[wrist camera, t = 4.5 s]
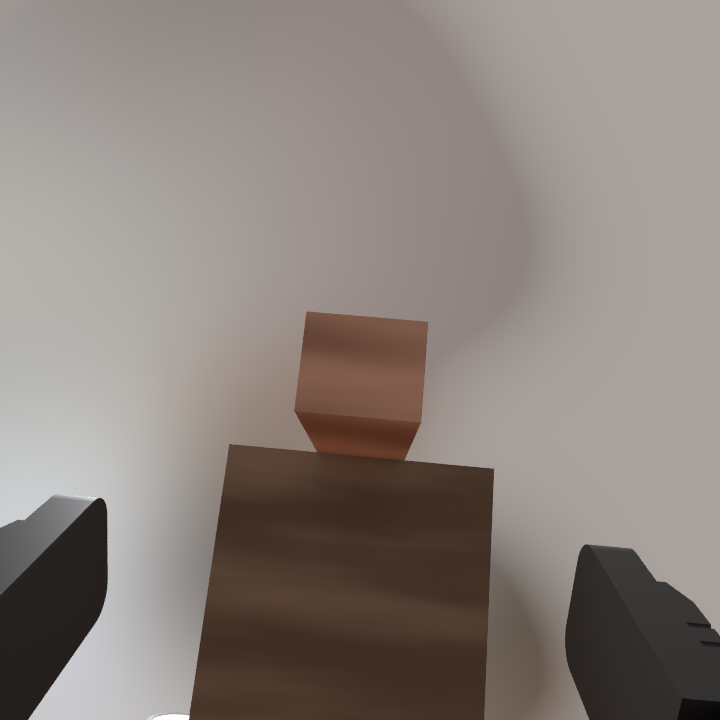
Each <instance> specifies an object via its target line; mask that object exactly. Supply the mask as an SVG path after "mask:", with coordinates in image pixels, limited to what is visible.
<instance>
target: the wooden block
mask: <svg viewBox="0 0 720 720" xmlns="http://www.w3.org/2000/svg"><path fill="white" fill-rule="evenodd" d="M427 331H428V322H422V321H411V320H399V319H388V318H376V317H363V316H352V315H341V314H328V313H317V312H306V320H305V329H304V337H303V345H302V353H301V361H300V370H299V377H298V386H297V395H296V402H295V410H294V411H295V413H296V415H297V417H298V418H299V420H300V422H301V424H302V425H303V427H304V429H305V431H306V432H307V434H308V436H309V438H310V440H311V442H312V443H313V445H314V447H315V449H316V450H317V452H318V453H329V454H340V455H350V456H361V457H372V458H383V459H393V460H405V457H406V455H407V453H408V450H409V448H410V446H411V444H412V442H413V439H414V437H415V435H416V433H417V430H418V428H419V426H420V424H421V416H422V401H423V388H424V373H425V359H426V344H427Z"/></svg>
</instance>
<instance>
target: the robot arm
mask: <svg viewBox="0 0 720 720" xmlns="http://www.w3.org/2000/svg"><path fill="white" fill-rule="evenodd" d="M107 571H108V565H107V508H106V504H105V501H104V500H103V499H102V498H96V497H85V496H75V495H64V494H56V495H54V496H52V497H51V498H50V499H49V500H48V501H46V502H45V503H44V504H43V505H42V506H41V507H39V508H38V509H37V510H36V511H35V512H34V513H32V514H31V515H30V516H29V517H28V518H27V519H26V520H17V521H14V522H13V523H10V524H8V525H6V526H4V527H1V528H0V720H28V719H29V717H30V716H31V715H32V713H33V711H34V710H35V709H36V707H37V706H38V704H39V703H40V702H41V700H42V699H43V697H44V696H45V694H46V693H47V692H48V690H49V689H50V687H51V686H52V684H53V683H54V681H55V680H56V679H57V677H58V676H59V674H60V673H61V672H62V670H63V669H64V667H65V666H66V664H67V663H68V661H69V660H70V658H71V657H72V656H73V654H74V653H75V651H76V650H77V648H78V647H79V646H80V644H81V643H82V641H83V640H84V638H85V637H86V636H87V634H88V633H89V631H90V630H91V629H92V627H93V626H94V624H95V623H96V621H97V620H98V617H99V616H100V613H101V611H102V608H103V605H104V601H105V597H106V592H107V582H108V581H107V580H108V577H107V575H108V574H107V573H108V572H107ZM565 648H566V657H567V662H568V666H569V669H570V672H571V674H572V677H573V680H574V682H575V685H576V687H577V690H578V692H579V695H580V697H581V700H582V702H583V705H584V707H585V710H586V712H587V715H588V717H589V719H590V720H720V636H719V634H718V633H717V632H716V631H715V629H711V624H710V623H709V622H708V620H707V619H706V618H705V617H704V615H703V614H702V613H701V612H700V610H699V609H698V607H697V606H696V605H695V604H694V603H693V602H692V601H691V600H689V599H688V598H687V597H685V596H684V595H683V594H681V593H680V592H679V591H677V590H676V589H674V588H673V587H672V586H670V585H669V584H668V583H666V582H657V581H656V580H655V579H654V577H653V576H652V574H651V573H650V572H649V570H648V569H647V568H646V566H645V565H644V563H643V562H642V561H641V559H640V558H639V556H638V555H637V554H636V552H635V551H634V550H632V549H629V548H619V547H607V546H597V545H584V546H583V547H582V549H581V551H580V553H579V557H578V562H577V567H576V573H575V579H574V585H573V590H572V596H571V601H570V607H569V613H568V619H567V624H566V634H565Z"/></svg>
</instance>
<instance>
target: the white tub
mask: <svg viewBox="0 0 720 720" xmlns="http://www.w3.org/2000/svg"><path fill="white" fill-rule="evenodd" d="M189 715H190V714H186V713H162V714H156V715H153V716H150V717H149V718H147V720H189Z"/></svg>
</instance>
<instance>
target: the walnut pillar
mask: <svg viewBox="0 0 720 720" xmlns="http://www.w3.org/2000/svg"><path fill="white" fill-rule="evenodd" d="M493 481H494V469H490V468H479V467H469V466H457V465H447V464H436V463H426V462H415V461H404V460H393V459H383V458H372V457H361V456H350V455H340V454H329V453H318V452H307V451H296V450H285V449H275V448H264V447H254V446H242V445H232V444H230V445H229V451H228V457H227V464H226V471H225V478H224V485H223V492H222V498H221V505H220V512H219V518H218V525H217V532H216V539H215V546H214V552H213V560H212V566H211V573H210V580H209V587H208V594H207V600H206V607H205V614H204V620H203V627H202V634H201V641H200V648H199V654H198V661H197V669H196V675H195V682H194V688H193V696H192V702H191V709H190V715H189V720H484V706H485V682H486V657H487V632H488V607H489V606H488V605H489V582H490V580H489V579H490V555H491V531H492V506H493Z"/></svg>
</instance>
